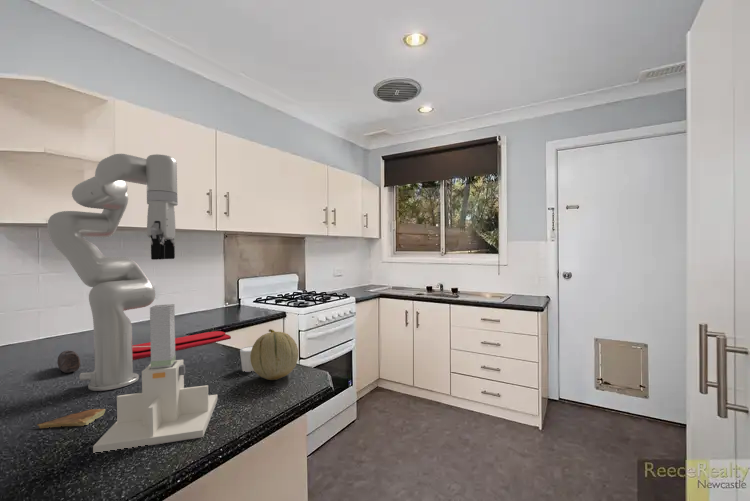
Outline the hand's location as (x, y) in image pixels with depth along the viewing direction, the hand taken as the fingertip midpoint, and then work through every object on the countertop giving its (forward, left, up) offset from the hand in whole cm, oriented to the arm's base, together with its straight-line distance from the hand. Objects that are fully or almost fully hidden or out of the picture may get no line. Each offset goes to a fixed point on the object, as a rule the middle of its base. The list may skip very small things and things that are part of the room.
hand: (163, 259), depth 100 cm
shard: (-16, -13, -39) cm, 44 cm away
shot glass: (+22, +14, -38) cm, 46 cm away
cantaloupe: (+30, +2, -38) cm, 49 cm away
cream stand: (+5, -20, -38) cm, 43 cm away
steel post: (+5, -20, -29) cm, 35 cm away
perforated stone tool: (-40, +35, -39) cm, 66 cm away
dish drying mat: (-11, +57, -39) cm, 70 cm away
